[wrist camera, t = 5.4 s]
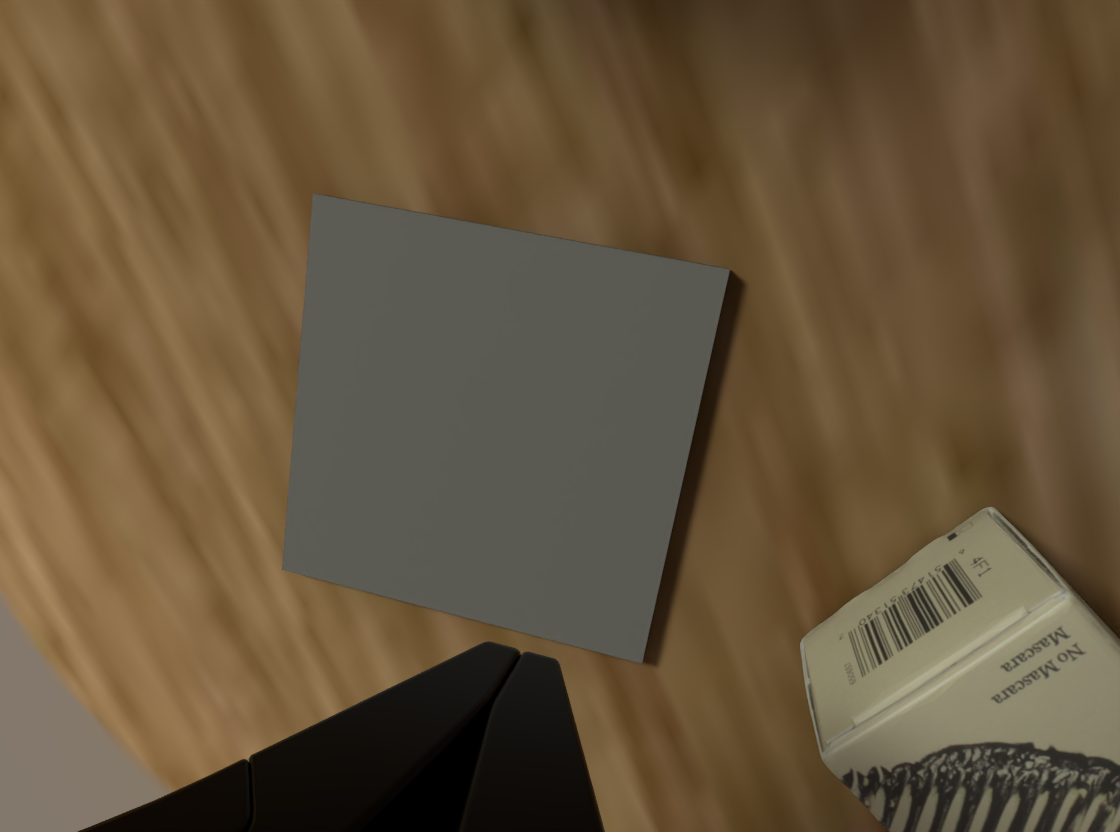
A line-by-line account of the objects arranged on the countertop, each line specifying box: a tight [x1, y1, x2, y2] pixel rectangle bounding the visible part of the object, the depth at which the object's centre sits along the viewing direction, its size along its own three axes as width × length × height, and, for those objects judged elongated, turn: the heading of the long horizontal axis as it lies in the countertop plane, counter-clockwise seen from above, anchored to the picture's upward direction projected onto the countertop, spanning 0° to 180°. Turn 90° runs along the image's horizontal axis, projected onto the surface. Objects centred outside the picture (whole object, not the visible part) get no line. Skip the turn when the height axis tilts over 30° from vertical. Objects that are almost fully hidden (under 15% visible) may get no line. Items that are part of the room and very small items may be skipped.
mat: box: [282, 194, 730, 664], centre depth 18 cm, size 9×9×1 cm
